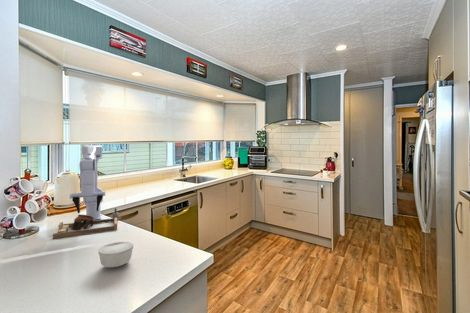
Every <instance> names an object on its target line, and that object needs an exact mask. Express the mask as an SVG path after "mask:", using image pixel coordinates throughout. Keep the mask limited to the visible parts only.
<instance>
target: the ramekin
mask: <svg viewBox="0 0 470 313" xmlns="http://www.w3.org/2000/svg"><path fill="white" fill-rule="evenodd" d="M133 249H134V243H132V242H131V241H117V242H111V243H107V244H105V245H103V246H101V247H100V248H99V249H98V251H97V254H98V255H99V261H100V262H99V263H100V264H101V265H102V266H103V267H104V268H116V267H121V266H123V265H125V264H127V263H129V261H130V260H131V259H132V255H133Z"/></svg>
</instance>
